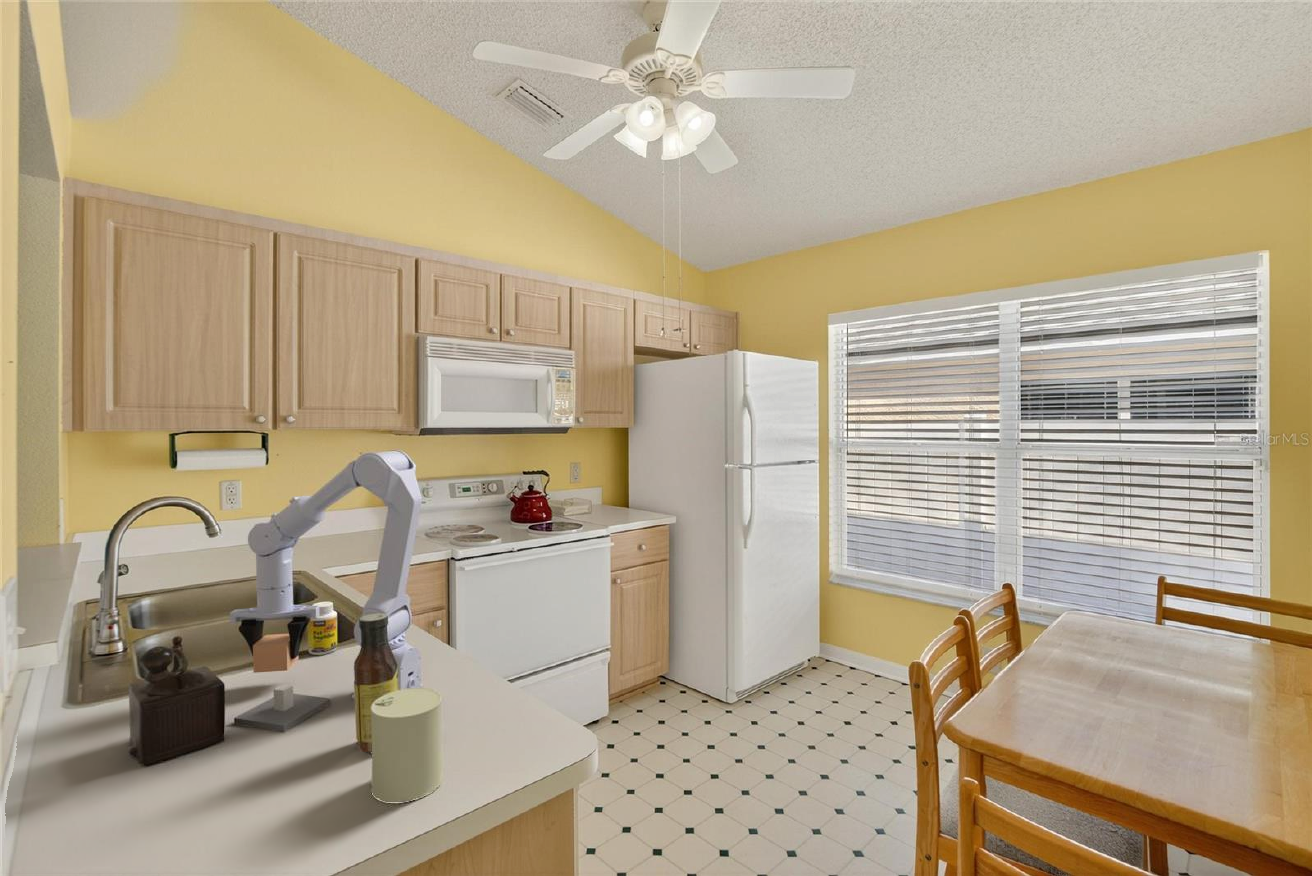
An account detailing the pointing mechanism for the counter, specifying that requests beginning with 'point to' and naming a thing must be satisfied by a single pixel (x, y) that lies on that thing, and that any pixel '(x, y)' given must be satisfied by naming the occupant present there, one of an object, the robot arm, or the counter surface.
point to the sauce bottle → (372, 674)
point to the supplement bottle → (323, 630)
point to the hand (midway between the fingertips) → (276, 658)
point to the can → (406, 744)
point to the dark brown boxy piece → (174, 707)
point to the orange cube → (272, 653)
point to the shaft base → (282, 710)
